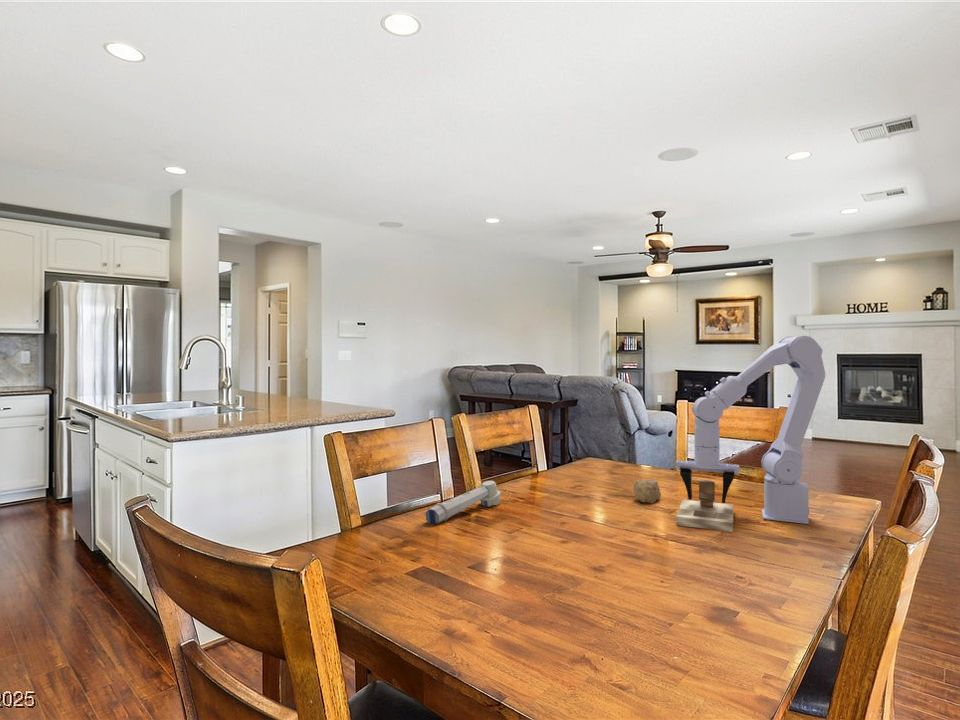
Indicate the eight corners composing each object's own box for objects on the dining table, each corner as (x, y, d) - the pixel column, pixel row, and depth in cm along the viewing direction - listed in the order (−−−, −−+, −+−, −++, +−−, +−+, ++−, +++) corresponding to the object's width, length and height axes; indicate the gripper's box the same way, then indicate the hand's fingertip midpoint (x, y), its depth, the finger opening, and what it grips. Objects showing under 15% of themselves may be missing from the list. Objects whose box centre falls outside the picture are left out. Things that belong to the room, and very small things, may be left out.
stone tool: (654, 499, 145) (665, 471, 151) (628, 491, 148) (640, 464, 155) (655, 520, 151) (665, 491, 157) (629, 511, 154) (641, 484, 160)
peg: (715, 505, 139) (715, 481, 139) (714, 508, 136) (714, 484, 136) (699, 503, 141) (699, 479, 140) (698, 507, 137) (698, 482, 137)
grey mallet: (422, 506, 133) (487, 474, 152) (425, 533, 134) (490, 497, 152) (438, 510, 129) (503, 476, 148) (441, 538, 130) (505, 500, 149)
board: (733, 512, 139) (733, 504, 139) (732, 531, 125) (732, 523, 125) (682, 507, 144) (682, 499, 144) (676, 524, 130) (676, 516, 130)
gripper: (739, 445, 138) (738, 499, 139) (677, 441, 144) (677, 493, 145) (739, 449, 132) (739, 506, 132) (674, 445, 138) (674, 500, 138)
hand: (706, 500), depth 138 cm, fingers open, 7 cm apart
